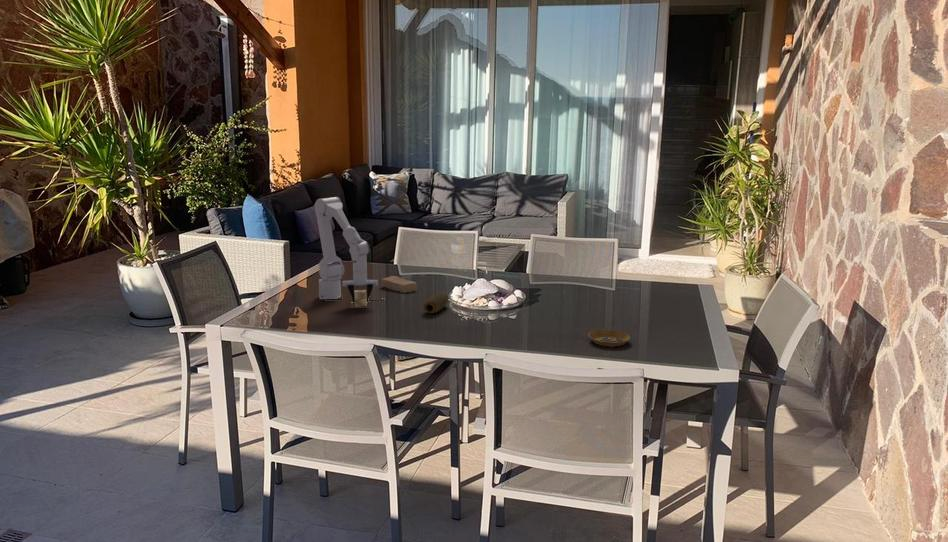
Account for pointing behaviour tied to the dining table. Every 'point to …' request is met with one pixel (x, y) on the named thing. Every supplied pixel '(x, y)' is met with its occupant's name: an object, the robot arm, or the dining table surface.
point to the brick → (399, 284)
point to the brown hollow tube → (436, 303)
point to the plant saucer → (601, 334)
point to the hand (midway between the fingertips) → (360, 302)
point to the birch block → (360, 298)
